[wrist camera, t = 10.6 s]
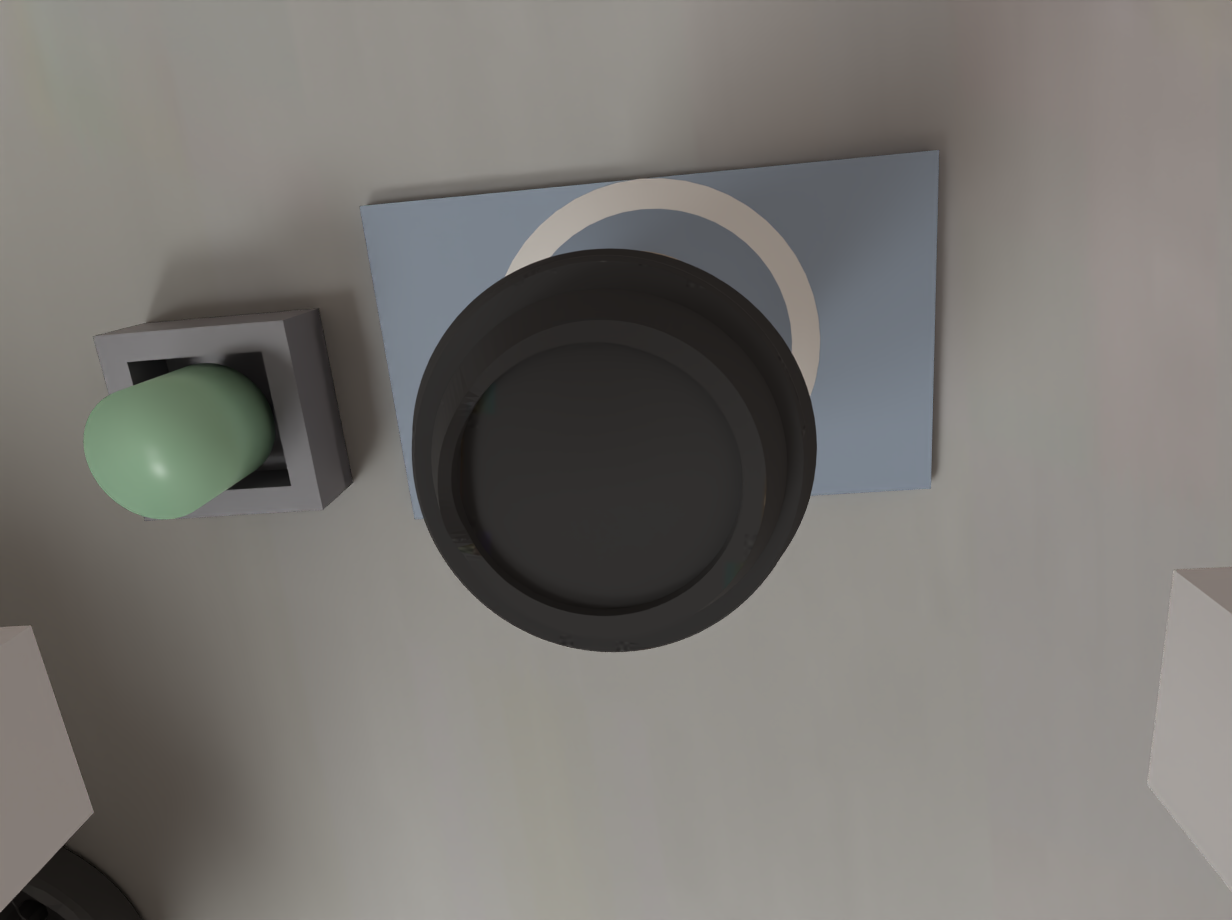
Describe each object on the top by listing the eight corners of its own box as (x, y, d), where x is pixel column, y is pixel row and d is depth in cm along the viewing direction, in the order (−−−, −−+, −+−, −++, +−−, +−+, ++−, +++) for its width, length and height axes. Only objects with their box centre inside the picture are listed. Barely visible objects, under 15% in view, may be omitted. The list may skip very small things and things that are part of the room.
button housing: (188, 493, 34) (144, 520, 31) (144, 323, 32) (92, 336, 29) (352, 482, 34) (322, 509, 31) (318, 308, 32) (283, 320, 29)
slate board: (419, 513, 34) (414, 520, 33) (365, 205, 30) (358, 206, 30) (926, 483, 32) (931, 489, 31) (934, 150, 28) (939, 149, 28)
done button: (174, 482, 31) (105, 523, 28) (144, 367, 30) (66, 393, 26) (286, 475, 31) (231, 515, 27) (260, 358, 30) (198, 382, 26)
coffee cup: (780, 235, 29) (875, 280, 15) (746, 480, 32) (799, 718, 17) (521, 213, 29) (369, 237, 15) (511, 457, 32) (375, 672, 18)
